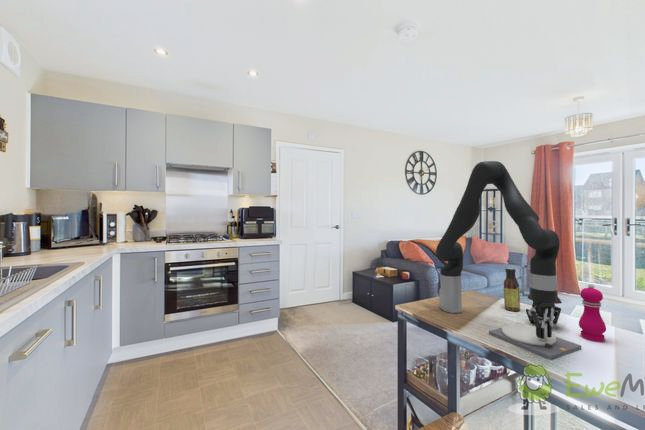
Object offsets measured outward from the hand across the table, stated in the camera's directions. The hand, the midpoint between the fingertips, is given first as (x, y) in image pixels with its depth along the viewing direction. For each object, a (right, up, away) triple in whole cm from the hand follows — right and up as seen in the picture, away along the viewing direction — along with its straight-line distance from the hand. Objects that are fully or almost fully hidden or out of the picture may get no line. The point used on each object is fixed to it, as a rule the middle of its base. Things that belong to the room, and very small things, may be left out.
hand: (544, 337), depth 95 cm
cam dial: (0, -3, +6) cm, 7 cm away
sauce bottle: (+15, -4, +38) cm, 41 cm away
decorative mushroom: (+15, -4, +19) cm, 24 cm away
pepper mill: (+23, -4, +7) cm, 25 cm away
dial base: (0, -4, +6) cm, 7 cm away
